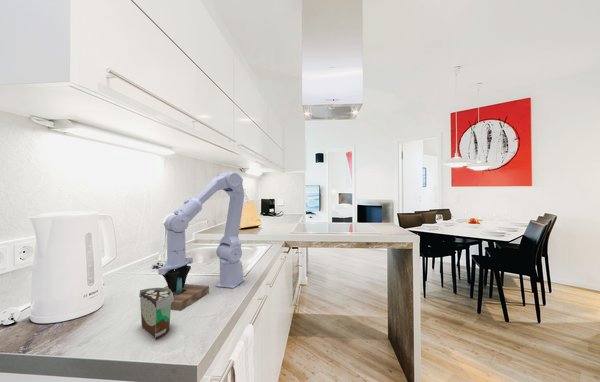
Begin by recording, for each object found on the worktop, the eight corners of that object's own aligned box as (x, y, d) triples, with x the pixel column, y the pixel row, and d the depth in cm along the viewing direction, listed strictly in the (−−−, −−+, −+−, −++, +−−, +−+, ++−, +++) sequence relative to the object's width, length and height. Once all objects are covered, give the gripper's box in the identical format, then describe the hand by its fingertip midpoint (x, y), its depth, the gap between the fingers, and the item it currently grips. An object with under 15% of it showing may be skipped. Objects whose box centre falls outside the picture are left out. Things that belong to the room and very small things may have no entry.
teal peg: (176, 292, 96) (176, 276, 96) (184, 293, 95) (184, 277, 95) (168, 296, 93) (167, 279, 93) (176, 297, 92) (176, 281, 92)
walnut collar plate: (174, 289, 103) (174, 282, 103) (209, 292, 99) (209, 285, 99) (141, 305, 89) (141, 297, 89) (180, 310, 85) (180, 302, 85)
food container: (182, 332, 72) (182, 294, 72) (157, 342, 67) (157, 301, 67) (163, 318, 80) (162, 283, 80) (139, 326, 75) (139, 289, 75)
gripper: (180, 245, 102) (181, 281, 102) (150, 254, 88) (150, 296, 88) (197, 246, 100) (197, 283, 100) (168, 255, 86) (169, 298, 86)
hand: (176, 289), depth 94 cm, fingers closed on teal peg, 3 cm apart
